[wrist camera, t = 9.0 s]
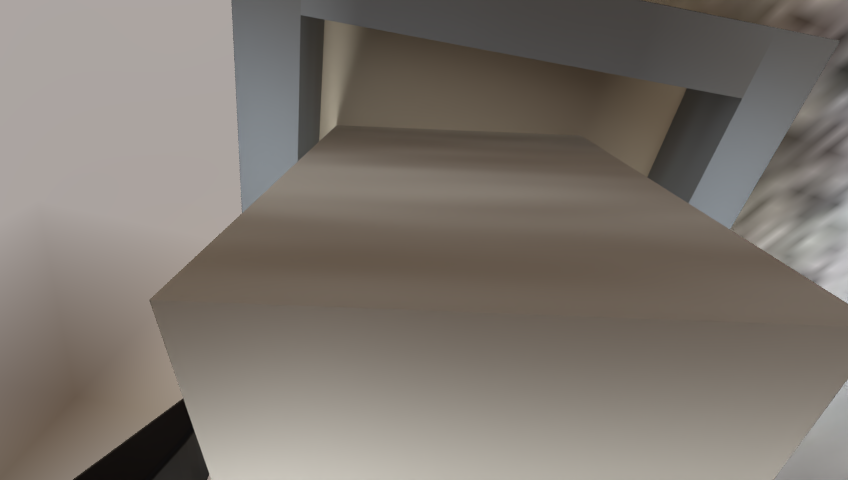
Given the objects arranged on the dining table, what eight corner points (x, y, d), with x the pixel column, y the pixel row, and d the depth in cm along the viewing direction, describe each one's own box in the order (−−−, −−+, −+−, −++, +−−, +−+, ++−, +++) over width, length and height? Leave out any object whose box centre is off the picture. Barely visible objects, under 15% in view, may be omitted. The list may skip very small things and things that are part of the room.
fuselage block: (507, 468, 13) (562, 766, 8) (357, 463, 13) (308, 760, 8) (581, 135, 8) (885, 327, 3) (336, 125, 8) (148, 301, 3)
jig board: (516, 492, 15) (530, 569, 13) (284, 466, 15) (258, 542, 12) (727, 40, 8) (840, 40, 6) (287, -48, 7) (227, -84, 5)
